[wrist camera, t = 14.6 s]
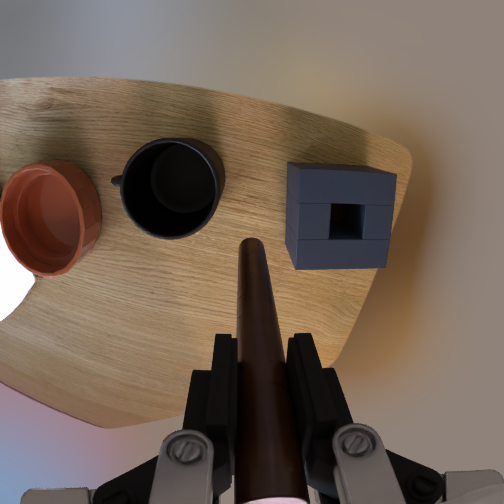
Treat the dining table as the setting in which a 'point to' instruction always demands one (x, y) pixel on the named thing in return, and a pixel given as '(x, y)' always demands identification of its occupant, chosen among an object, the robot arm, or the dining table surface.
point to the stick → (263, 394)
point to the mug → (171, 187)
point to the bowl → (50, 216)
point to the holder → (352, 217)
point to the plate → (12, 280)
